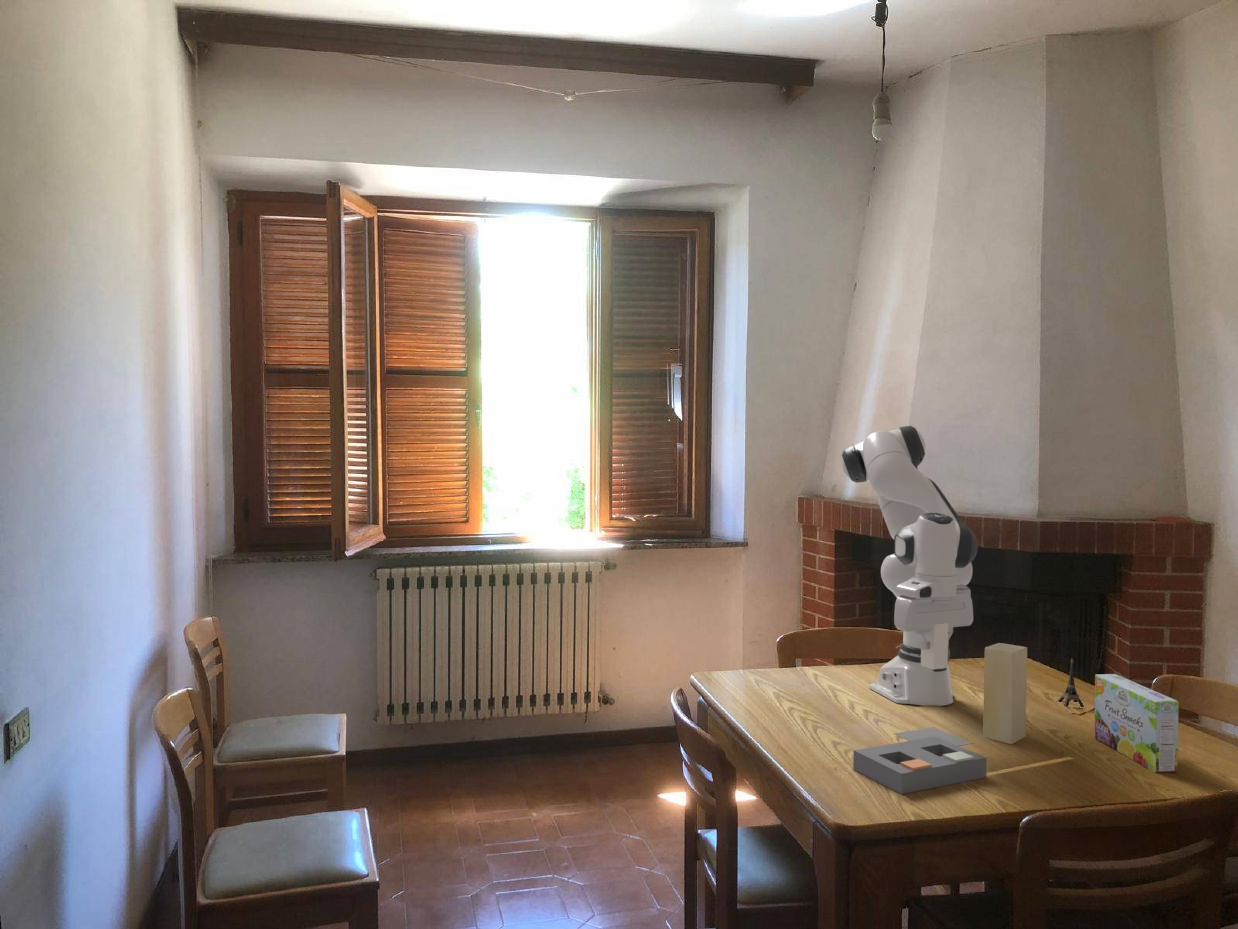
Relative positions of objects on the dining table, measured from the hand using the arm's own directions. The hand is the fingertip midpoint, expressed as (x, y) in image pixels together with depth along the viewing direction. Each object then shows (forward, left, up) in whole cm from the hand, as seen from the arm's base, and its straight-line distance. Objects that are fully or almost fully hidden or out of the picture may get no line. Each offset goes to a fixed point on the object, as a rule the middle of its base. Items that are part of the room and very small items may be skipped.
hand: (933, 648), depth 204 cm
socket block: (+14, -17, -21) cm, 30 cm away
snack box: (+24, +34, -21) cm, 47 cm away
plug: (0, 0, -4) cm, 4 cm away
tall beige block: (+5, +16, -21) cm, 27 cm away
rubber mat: (0, 0, -21) cm, 21 cm away
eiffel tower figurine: (-7, +54, -22) cm, 59 cm away
